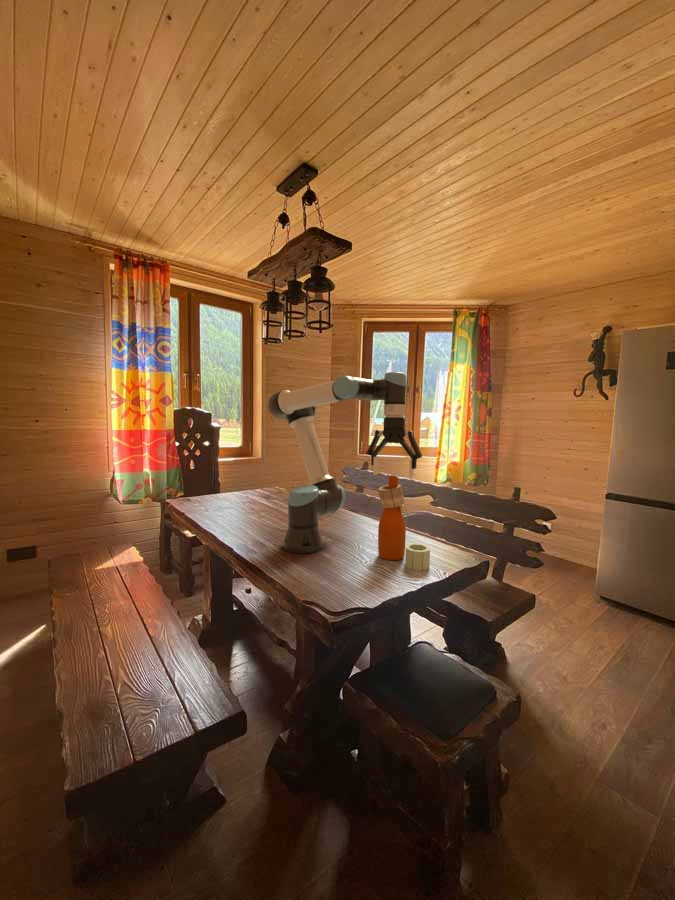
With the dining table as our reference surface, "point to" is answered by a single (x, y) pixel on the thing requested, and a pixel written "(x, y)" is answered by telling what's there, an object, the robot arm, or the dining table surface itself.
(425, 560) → the sage ring
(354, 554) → the dining table surface
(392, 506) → the birch ring
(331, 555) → the dining table surface
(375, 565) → the dining table surface
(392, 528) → the wine bottle
